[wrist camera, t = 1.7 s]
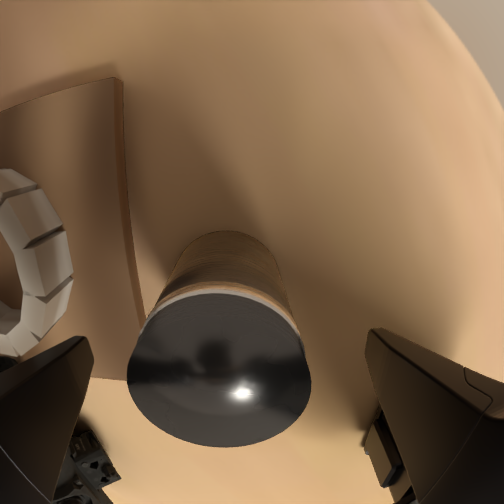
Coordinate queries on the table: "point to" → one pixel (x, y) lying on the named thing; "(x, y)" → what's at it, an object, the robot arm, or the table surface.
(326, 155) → the table surface
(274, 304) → the lens
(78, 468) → the night vision scope
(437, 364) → the robot arm
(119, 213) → the mount plate
